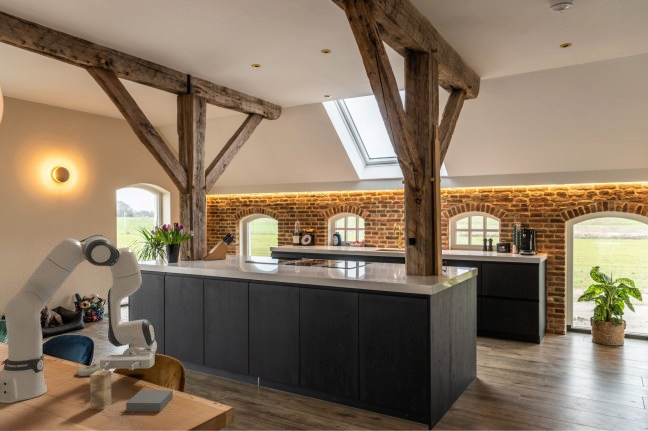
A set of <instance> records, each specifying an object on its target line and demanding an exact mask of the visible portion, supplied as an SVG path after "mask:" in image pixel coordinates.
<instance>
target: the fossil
mask: <svg viewBox="0 0 648 431" xmlns="http://www.w3.org/2000/svg"><path fill="white" fill-rule="evenodd" d="M96 371H104V369H101V368H100V362H94V363H92V364H91V365H88V366H81V367H79V368H78V369H77V370H76V372H75V373H76V375H77V376H79V377H90V375H91V374H93V373H95V372H96Z"/></svg>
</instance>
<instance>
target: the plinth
mask: <svg viewBox="0 0 648 431" xmlns="http://www.w3.org/2000/svg"><path fill="white" fill-rule="evenodd" d="M173 394H174V392H173V390H171V389H157V390H156V389H140V390H139V391H138V392H137V393H136V394H134V395H133V396H132V397H131V398H130V399H129V400H128V401H127V402H125V403H126V404H125V406H126V407H125V408H126V409H125V410H126V412H136V413H137V412H138V413H139V412H140V413H141V412H146V413H147V412H154V413H156V412H157V413H161V412H162V411H163V409H165V407H167V405H168V404H169V403H170V402H171V401H172V400H173V399H172V398H173ZM171 399H172V400H171ZM170 400H171V401H170ZM169 401H170V402H169ZM168 402H169V403H168Z"/></svg>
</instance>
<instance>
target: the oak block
mask: <svg viewBox="0 0 648 431" xmlns="http://www.w3.org/2000/svg"><path fill="white" fill-rule="evenodd" d="M89 377H90V378H89V382H90V384H89V385H90V387H89V389H90V390H89V391H90V392H89V394H90V396H89V398H90V399H89V400H90V402H89V404H90V406H89V408H90V410H106V409H107V408H109V406H110V405H112V370H102V371H96V372H95V373H93V374H91V375H90V376H89Z"/></svg>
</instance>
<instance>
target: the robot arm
mask: <svg viewBox="0 0 648 431" xmlns="http://www.w3.org/2000/svg"><path fill="white" fill-rule="evenodd" d="M85 261H87V262H88V263H89V264H90V265H92V266H96V267H97V266H98V267H109V269H110V272H111V277H112V286H111V287H110V288H109V289H108V292H107V316H108V317H107V318H108V320H107V321H108V329H107V339H108V342H110V344H111V345H113V346H114V347H116V348H118V347H122V346H127V345H131V346H130V347H129V348H127V349H125V350H124V351H123V353H122V354H109V355H107V356H104V357H103V358H100V359H99V364H100V368H101V369H103V371H111V370H113V369H114V370H115V369H116V370H117V369H119V370H120V369H122V370H124V369H128V371H133V370H135V369H136V370H137V369H150V368H152V367H153V366H154V365H155V362H156V361H155V360H156V359H155V358H156V357H155V356H156V355H155V354H156V352H157V348H158V343H157V341H156V329H155V326H154V324H153V323H152V322H151V321H150V320H148V319H147V318H144V319H138V320H129V321H123V320H122V311H121V307H122V306H121V303H122V301H123V300H124V299H125V298H127V297H129V296H131V295H133V294H134V293H136V292H137V290H139V289H140V287H141V286H142V283H143V280H142V273H141V268H140V263H139V260H138V258H137V255H136V254H135V252H134V250H133V249H131V248H129V247H120V248H118V247H117V248H116V246H115V245H114V244H113V243H112V241H111V240H110V239H109V238H108V237H106V236H104V235H102V234H96V235H91V236H89V237H87V238H83V239H82V240H78V239H75V238H72V237H71V238H69V237H68V238H65V239H62V241H60V242H59V243H58V244H56V246H55V247H54V248H53V249H52V250H51V251H50V252H49V253H48V254H47V256H45V258H44V259H43V260H42V262H41V263H40V264H39V265H38V266H37V267H36V268H35V270H34V271H33V273H31V276H29V278H28V279H27V280H26V282H24V284H23V285H22V287H21V288H20V289H19V291H18V292H17V293H16V294H15V295H14V296H13V297H12V298H10V299H9V300H8V301H7V302H6V304H5V307H4V318H5V326H6V333H7V347H8V348H7V357H8V358H6V359H4V360H3V361H1V362H0V366H3V367H2V369H1V370H0V403H1V404H13V403H16V402H20V401H24V400H29V399H34V398H36V397H39V396H42V395H44V394H45V393H46V392H47V391H48V387H47V385H46V380H45V376H44V375H45V374H44V366H45V365H44V360H45V359H44V357H45V356H44V354H43V333H42V324H41V322H42V321H41V312H42V311H43V310H44V309H45V307H47V305H48V303H49V302H50V301H51V300H52V298H53V297H54V296H55V294H56V293H57V292H58V291H59V289H60V288H61V287H62V286H63V284H64V283H65V282H66V281H67V279H69V277H70V276H71V274H73V272H74V271H75V270H76V268H77V266H79V265H80V264H81V263H83V262H85Z"/></svg>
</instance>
